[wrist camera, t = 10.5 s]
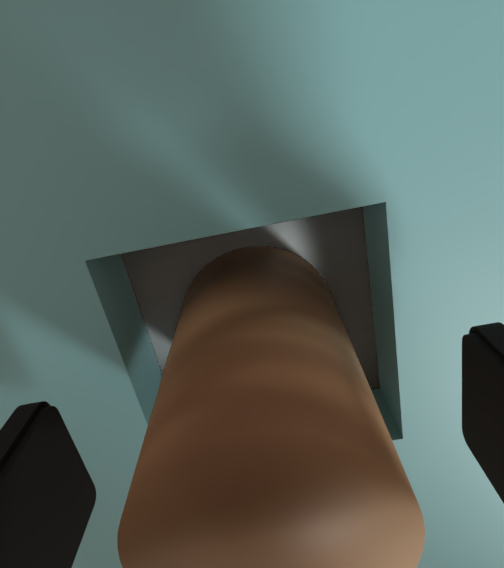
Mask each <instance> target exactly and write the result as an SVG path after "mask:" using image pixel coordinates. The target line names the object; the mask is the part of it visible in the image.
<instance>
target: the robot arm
mask: <svg viewBox="0 0 504 568" xmlns="http://www.w3.org/2000/svg"><path fill="white" fill-rule="evenodd" d="M462 432H463V436H464V439H465V442H466V444H467V446H468V447H469V449H470V451H471V452H472V454H473V455H474V457H475V459H476V460H477V462H478V463H479V465H480V467H481V468H482V470H483V471H484V473H485V475H486V476H487V478H488V479H489V481H490V482H491V484H492V486H493V487H494V489H495V490H496V492H497V494H498V495H499V497H500V498H501V500H502V502H503V503H504V324H502V323H500V322H496V323H490V324H484V325H479V326H473V327H471V328H470V331H469V334H466V335H464V336H463V337H462ZM95 502H96V488H95V485H94V483H93V481H92V479H91V477H90V475H89V473H88V471H87V469H86V467H85V465H84V462H83V460H82V458H81V456H80V454H79V452H78V450H77V448H76V446H75V444H74V442H73V440H72V437H71V435H70V433H69V431H68V429H67V427H66V425H65V423H64V421H63V419H62V417H61V415H60V413H59V411H58V409H57V408H56V407H55V406H51V405H50V404H49V403H48V402H46V401H41V402H36V403H30V404H24V405H20V406H18V407H17V408H16V409H15V410H14V412H13V413H12V414H11V416H10V417H9V419H8V420H7V421H6V423H5V424H4V426H3V427H2V428H1V430H0V568H72V565H73V562H74V560H75V557H76V554H77V552H78V549H79V546H80V543H81V541H82V538H83V535H84V532H85V530H86V527H87V524H88V521H89V519H90V516H91V513H92V511H93V508H94V505H95Z"/></svg>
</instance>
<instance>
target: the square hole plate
mask: <svg viewBox="0 0 504 568" xmlns="http://www.w3.org/2000/svg"><path fill="white" fill-rule="evenodd" d="M362 206H363V215H364V225H365V236H366V246H367V257H368V267H369V278H370V288H371V299H372V309H373V320H374V330H375V341H376V351H377V362H378V372H379V383H380V388H376V389H371V391H372V393H373V396H374V398H375V401H376V403H377V405H378V408H379V410H380V413H381V415H382V417H383V420H384V422H385V425H386V427H387V429H388V432H389V434H390V437H391V439H392V441H393V444H394V446H395V449H396V451H397V453H398V456H399V458H400V461H401V463H402V465H403V468H404V470H405V473H406V475H407V477H408V480H409V482H410V485H411V487H412V489H413V492H414V494H415V497H416V499H417V501H418V504H419V507H420V509H421V512H422V515H423V519H424V526H425V544H424V548H423V552H422V556H421V558H420V561H419V563H418V565H417V567H416V568H504V503H503V502H502V500H501V498H500V497H499V495H498V494H497V492H496V490H495V489H494V487H493V486H492V484H491V482H490V481H489V479H488V478H487V476H486V475H485V473H484V471H483V470H482V468H481V467H480V465H479V463H478V462H477V460H476V459H475V457H474V455H473V454H472V452H471V451H470V449H469V447H468V446H467V444H466V442H465V439H464V436H463V432H462V337H463V336H464V335H466V334H469V331H470V328H471V327H473V326H479V325H484V324H490V323H496V322H500V323H502V324H504V0H0V430H1V428H2V427H3V426H4V424H5V423H6V421H7V420H8V419H9V417H10V416H11V414H12V413H13V412H14V410H15V409H16V408H17V407H18V406H20V405H24V404H30V403H36V402H41V401H46V402H48V403H49V404H50V405H51V406H55V407H56V408H57V409H58V411H59V413H60V415H61V417H62V419H63V421H64V423H65V425H66V427H67V429H68V431H69V433H70V435H71V437H72V440H73V442H74V444H75V446H76V448H77V450H78V452H79V454H80V456H81V458H82V460H83V462H84V465H85V467H86V469H87V471H88V473H89V475H90V477H91V479H92V481H93V483H94V485H95V488H96V502H95V505H94V508H93V511H92V513H91V516H90V519H89V521H88V524H87V527H86V530H85V532H84V535H83V538H82V541H81V543H80V546H79V549H78V552H77V554H76V557H75V560H74V562H73V565H72V568H123V567H122V565H121V562H120V559H119V553H118V548H117V533H118V529H119V524H120V519H121V516H122V512H123V509H124V506H125V502H126V499H127V495H128V492H129V488H130V485H131V482H132V478H133V475H134V471H135V468H136V465H137V461H138V458H139V454H140V451H141V447H142V444H143V441H144V437H145V434H146V430H147V427H148V423H149V420H150V417H151V413H152V410H153V406H154V403H155V399H156V396H157V393H158V389H159V386H160V382H161V379H162V373H161V370H160V367H159V364H158V361H157V358H156V355H155V352H154V350H153V347H152V344H151V341H150V338H149V335H148V332H147V329H146V326H145V323H144V320H143V317H142V315H141V312H140V309H139V306H138V303H137V300H136V297H135V294H134V291H133V288H132V285H131V282H130V279H129V277H128V274H127V271H126V268H125V265H124V262H123V259H122V256H121V254H122V253H127V252H132V251H137V250H142V249H147V248H152V247H157V246H163V245H168V244H173V243H178V242H183V241H188V240H193V239H198V238H204V237H209V236H214V235H219V234H224V233H229V232H234V231H239V230H244V229H250V228H255V227H260V226H265V225H270V224H275V223H280V222H285V221H291V220H296V219H301V218H306V217H311V216H316V215H321V214H326V213H331V212H337V211H342V210H347V209H352V208H357V207H362Z"/></svg>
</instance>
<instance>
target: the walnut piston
mask: <svg viewBox="0 0 504 568" xmlns="http://www.w3.org/2000/svg"><path fill="white" fill-rule="evenodd" d="M424 544H425V526H424V519H423V515H422V512H421V509H420V507H419V504H418V501H417V499H416V497H415V494H414V492H413V489H412V487H411V485H410V482H409V480H408V477H407V475H406V473H405V470H404V468H403V465H402V463H401V461H400V458H399V456H398V453H397V451H396V449H395V446H394V444H393V441H392V439H391V437H390V434H389V432H388V429H387V427H386V425H385V422H384V420H383V417H382V415H381V413H380V410H379V408H378V405H377V403H376V401H375V398H374V396H373V393H372V391H371V389H370V386H369V384H368V381H367V379H366V377H365V374H364V372H363V369H362V367H361V365H360V362H359V360H358V357H357V355H356V353H355V350H354V348H353V345H352V343H351V341H350V338H349V336H348V334H347V331H346V329H345V326H344V324H343V322H342V319H341V317H340V314H339V312H338V310H337V307H336V305H335V302H334V300H333V298H332V295H331V293H330V290H329V288H328V286H327V284H326V282H325V281H324V279H323V277H322V276H321V275H320V274H319V272H318V271H317V270H316V269H315V268H314V267H313V266H312V265H311V264H309V263H308V262H307V261H305V260H304V259H302V258H301V257H299V256H297V255H295V254H293V253H290V252H288V251H285V250H282V249H278V248H273V247H246V248H241V249H237V250H233V251H231V252H228V253H226V254H223V255H221V256H219V257H218V258H216V259H214V260H213V261H211V262H210V263H209V264H207V265H206V266H205V267H204V268H203V269H202V270H201V271H200V272H199V273H198V275H197V276H196V277H195V278H194V280H193V281H192V283H191V285H190V287H189V289H188V291H187V294H186V297H185V300H184V303H183V307H182V310H181V314H180V317H179V321H178V324H177V327H176V331H175V334H174V338H173V341H172V345H171V348H170V351H169V355H168V358H167V362H166V365H165V369H164V372H163V375H162V379H161V382H160V386H159V389H158V393H157V396H156V399H155V403H154V406H153V410H152V413H151V417H150V420H149V423H148V427H147V430H146V434H145V437H144V441H143V444H142V447H141V451H140V454H139V458H138V461H137V465H136V468H135V471H134V475H133V478H132V482H131V485H130V488H129V492H128V495H127V499H126V502H125V506H124V509H123V512H122V516H121V519H120V524H119V529H118V533H117V548H118V553H119V559H120V562H121V565H122V567H123V568H416V567H417V565H418V563H419V561H420V558H421V556H422V552H423V548H424Z"/></svg>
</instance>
